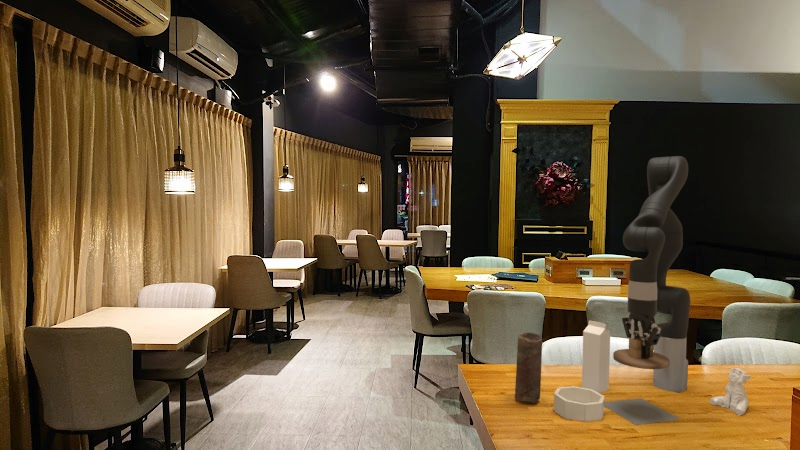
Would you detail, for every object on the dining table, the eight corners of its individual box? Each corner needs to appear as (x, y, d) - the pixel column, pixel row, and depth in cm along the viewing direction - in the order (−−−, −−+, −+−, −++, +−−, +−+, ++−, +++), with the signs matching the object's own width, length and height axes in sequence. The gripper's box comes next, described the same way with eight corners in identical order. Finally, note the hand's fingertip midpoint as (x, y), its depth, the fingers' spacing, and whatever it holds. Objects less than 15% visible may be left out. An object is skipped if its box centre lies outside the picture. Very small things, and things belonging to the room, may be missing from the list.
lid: (642, 351, 148) (643, 331, 148) (681, 366, 134) (682, 344, 134) (602, 355, 144) (602, 334, 144) (638, 371, 130) (638, 348, 130)
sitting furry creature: (708, 403, 146) (709, 364, 146) (726, 399, 150) (728, 361, 149) (740, 416, 138) (742, 374, 137) (759, 411, 141) (761, 371, 141)
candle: (541, 397, 149) (543, 333, 149) (540, 407, 143) (541, 339, 142) (516, 394, 152) (517, 331, 151) (513, 403, 145) (515, 337, 144)
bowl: (584, 401, 147) (584, 385, 147) (613, 419, 135) (613, 401, 134) (546, 405, 144) (546, 388, 144) (572, 424, 131) (573, 406, 131)
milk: (598, 394, 153) (600, 325, 152) (581, 388, 158) (583, 321, 157) (609, 390, 156) (611, 322, 155) (591, 384, 161) (593, 318, 160)
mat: (641, 399, 149) (641, 398, 149) (681, 420, 135) (681, 419, 135) (599, 404, 145) (599, 402, 145) (635, 426, 131) (635, 424, 131)
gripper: (672, 300, 133) (671, 363, 133) (635, 291, 146) (634, 348, 147) (650, 302, 131) (648, 365, 131) (614, 292, 144) (612, 350, 145)
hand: (640, 356), depth 139 cm, fingers closed on lid, 3 cm apart
